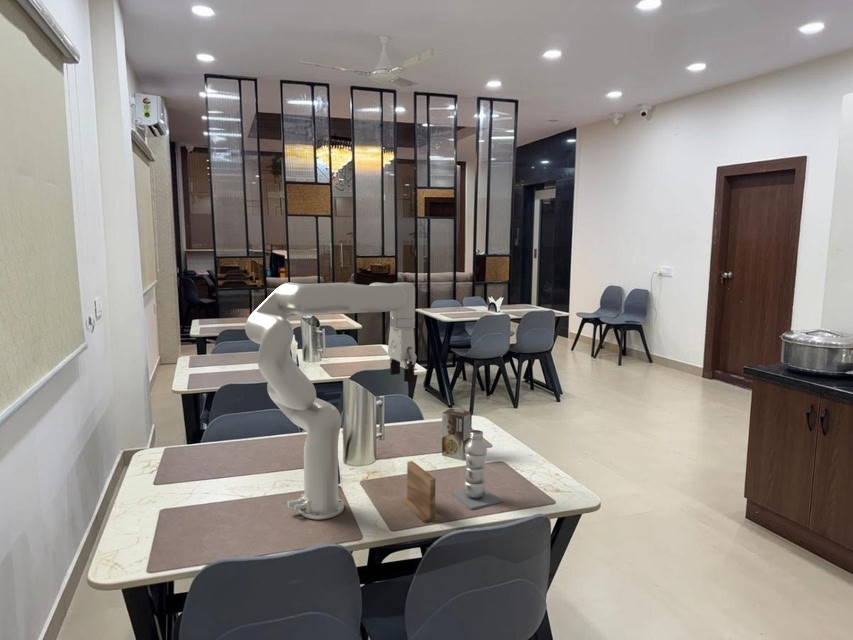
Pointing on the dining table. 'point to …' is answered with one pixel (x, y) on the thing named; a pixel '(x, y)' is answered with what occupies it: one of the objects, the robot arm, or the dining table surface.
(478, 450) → the plastic bottle
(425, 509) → the wooden stand
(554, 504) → the dining table surface
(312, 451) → the robot arm
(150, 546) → the dining table surface
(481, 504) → the mat
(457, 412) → the coffee box
